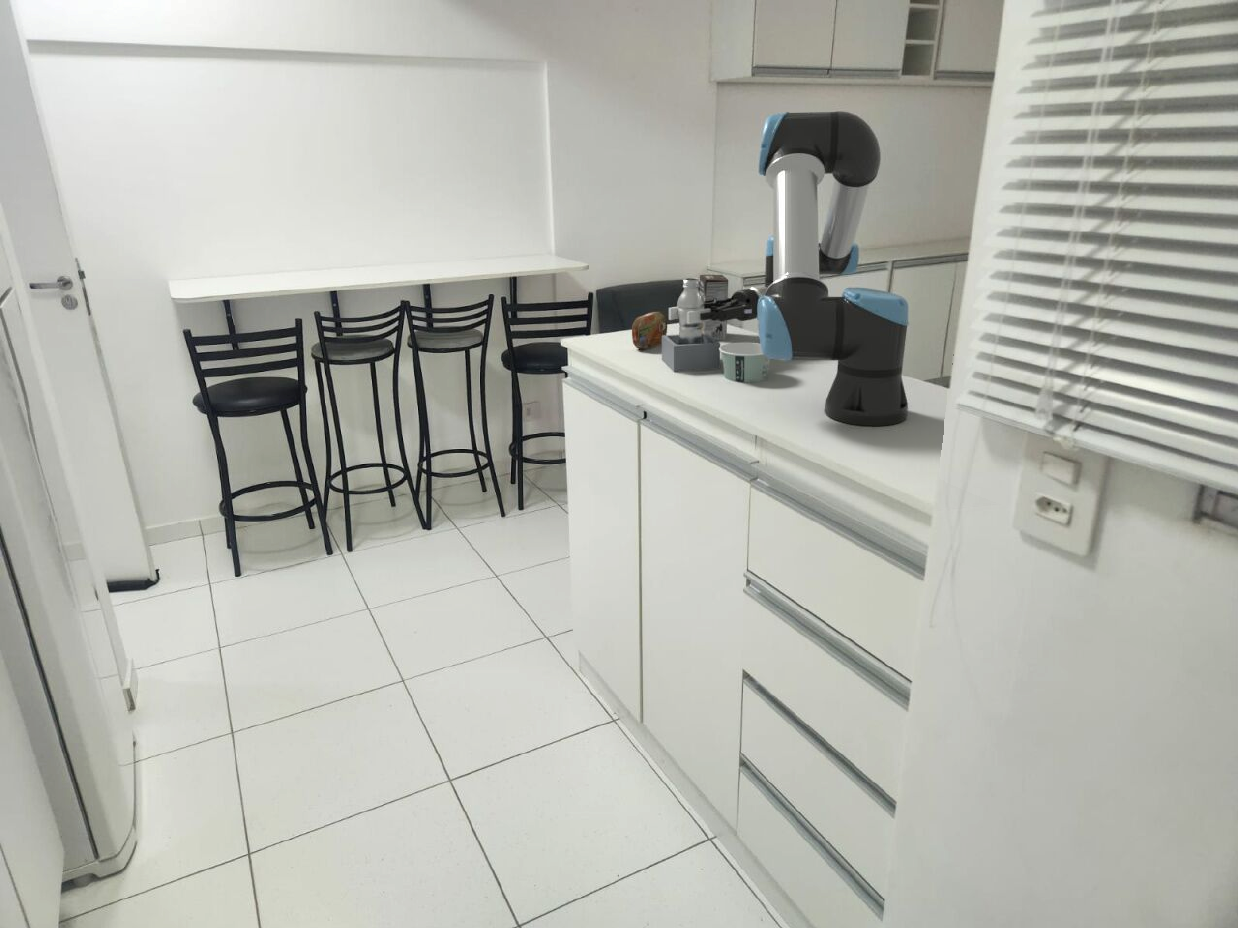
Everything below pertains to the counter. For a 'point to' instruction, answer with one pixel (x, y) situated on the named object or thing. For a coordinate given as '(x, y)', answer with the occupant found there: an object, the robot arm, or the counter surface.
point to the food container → (744, 362)
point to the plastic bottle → (686, 303)
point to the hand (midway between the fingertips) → (678, 316)
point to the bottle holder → (691, 354)
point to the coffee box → (717, 289)
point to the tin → (649, 330)
